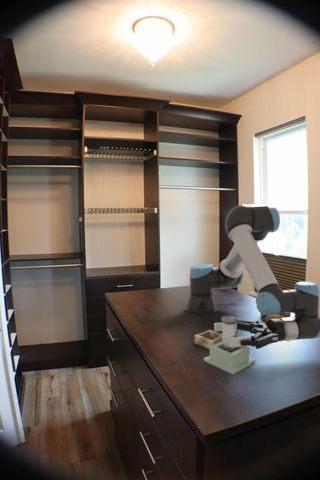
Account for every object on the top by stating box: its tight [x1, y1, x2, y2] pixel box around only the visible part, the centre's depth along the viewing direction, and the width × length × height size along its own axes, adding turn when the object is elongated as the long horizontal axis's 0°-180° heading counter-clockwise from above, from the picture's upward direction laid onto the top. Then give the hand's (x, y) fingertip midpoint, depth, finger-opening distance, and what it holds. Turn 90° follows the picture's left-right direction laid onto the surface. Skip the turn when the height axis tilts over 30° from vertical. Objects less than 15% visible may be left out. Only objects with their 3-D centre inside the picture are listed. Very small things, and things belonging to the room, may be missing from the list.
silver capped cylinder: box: [221, 314, 239, 353], centre depth 106 cm, size 5×5×15 cm
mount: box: [194, 329, 222, 350], centre depth 121 cm, size 9×9×3 cm
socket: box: [203, 342, 256, 375], centre depth 106 cm, size 12×12×5 cm
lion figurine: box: [264, 312, 292, 324], centre depth 135 cm, size 15×5×9 cm, turn 118°
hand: (221, 334), depth 105 cm, fingers open, 13 cm apart
